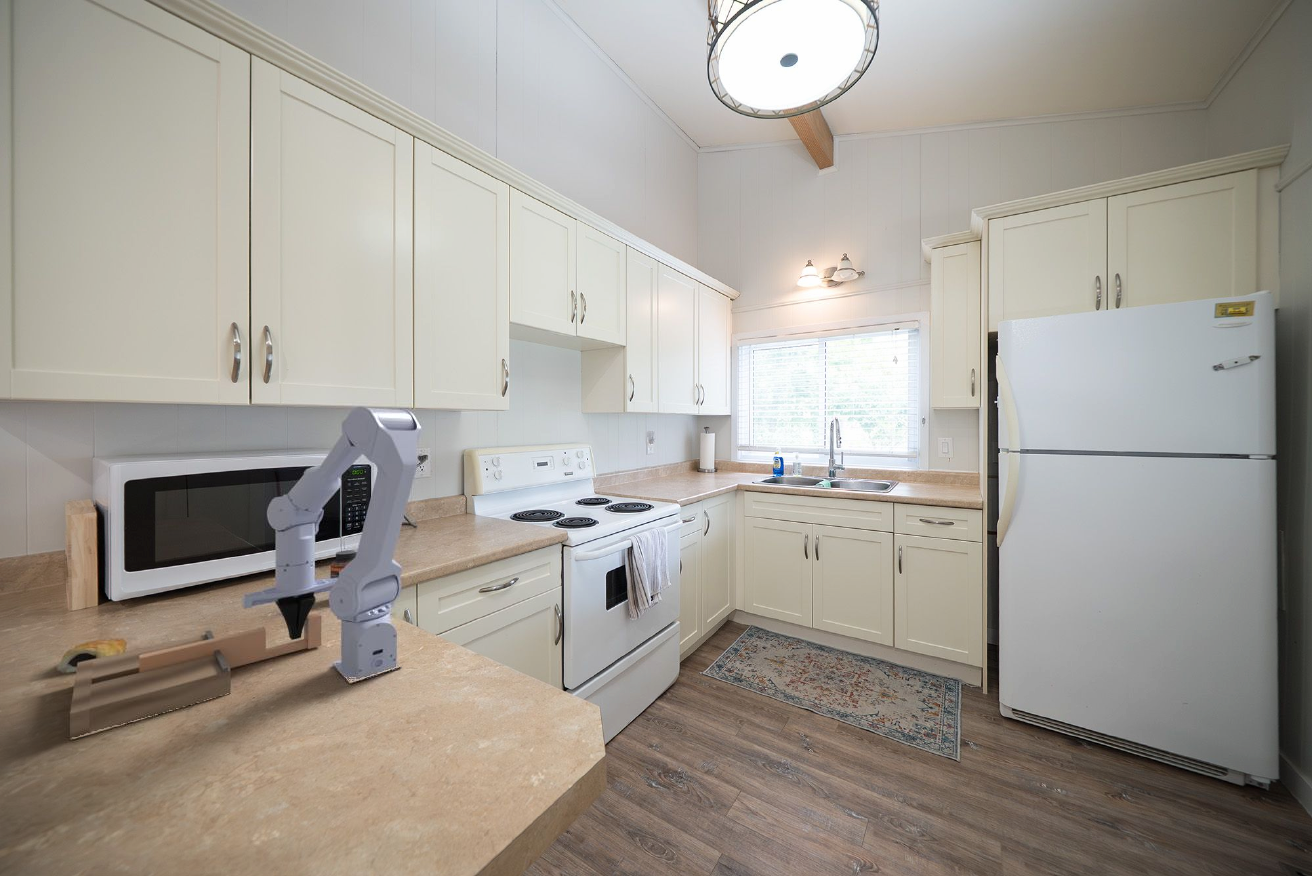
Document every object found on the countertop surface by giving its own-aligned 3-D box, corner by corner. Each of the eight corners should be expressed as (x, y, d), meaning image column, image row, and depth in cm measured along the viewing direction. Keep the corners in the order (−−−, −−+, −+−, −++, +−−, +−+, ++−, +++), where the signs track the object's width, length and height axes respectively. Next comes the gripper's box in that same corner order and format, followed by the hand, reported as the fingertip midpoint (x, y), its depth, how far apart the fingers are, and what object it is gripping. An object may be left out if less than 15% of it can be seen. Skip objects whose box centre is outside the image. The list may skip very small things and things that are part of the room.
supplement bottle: (349, 603, 113) (349, 555, 113) (323, 603, 113) (324, 554, 113) (365, 595, 119) (365, 549, 119) (341, 594, 119) (341, 548, 119)
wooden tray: (230, 693, 74) (230, 666, 74) (69, 740, 62) (69, 709, 62) (212, 652, 88) (212, 629, 88) (77, 684, 76) (77, 658, 76)
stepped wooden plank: (321, 645, 90) (321, 615, 90) (139, 693, 73) (139, 656, 73) (316, 640, 92) (316, 611, 92) (139, 686, 75) (139, 650, 75)
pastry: (88, 652, 87) (88, 631, 87) (139, 646, 90) (140, 626, 90) (52, 676, 79) (52, 653, 79) (110, 668, 82) (110, 646, 82)
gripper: (335, 551, 96) (334, 620, 96) (239, 565, 85) (238, 643, 86) (346, 558, 92) (346, 630, 92) (246, 573, 81) (246, 655, 81)
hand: (295, 637), depth 88 cm, fingers closed
